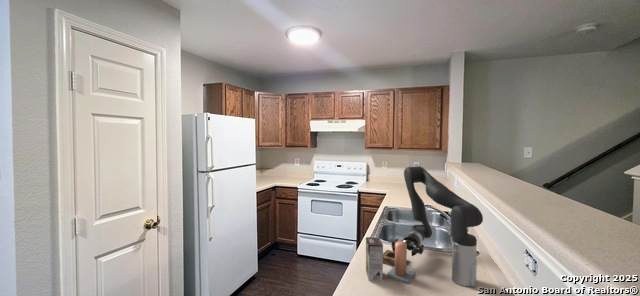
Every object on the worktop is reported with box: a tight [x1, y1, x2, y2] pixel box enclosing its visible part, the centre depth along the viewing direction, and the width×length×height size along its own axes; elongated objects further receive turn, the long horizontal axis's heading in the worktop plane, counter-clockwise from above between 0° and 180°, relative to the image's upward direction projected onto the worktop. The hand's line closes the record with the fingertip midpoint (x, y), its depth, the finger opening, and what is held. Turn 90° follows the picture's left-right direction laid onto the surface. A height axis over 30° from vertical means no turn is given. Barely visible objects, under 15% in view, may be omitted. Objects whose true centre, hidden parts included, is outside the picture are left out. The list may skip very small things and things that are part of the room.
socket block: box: [383, 249, 395, 267], centre depth 139 cm, size 10×10×3 cm
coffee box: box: [365, 236, 384, 282], centre depth 124 cm, size 9×6×16 cm
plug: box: [395, 240, 408, 277], centre depth 124 cm, size 5×5×14 cm
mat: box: [385, 266, 416, 285], centre depth 125 cm, size 10×10×1 cm
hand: (402, 251), depth 126 cm, fingers open, 8 cm apart
